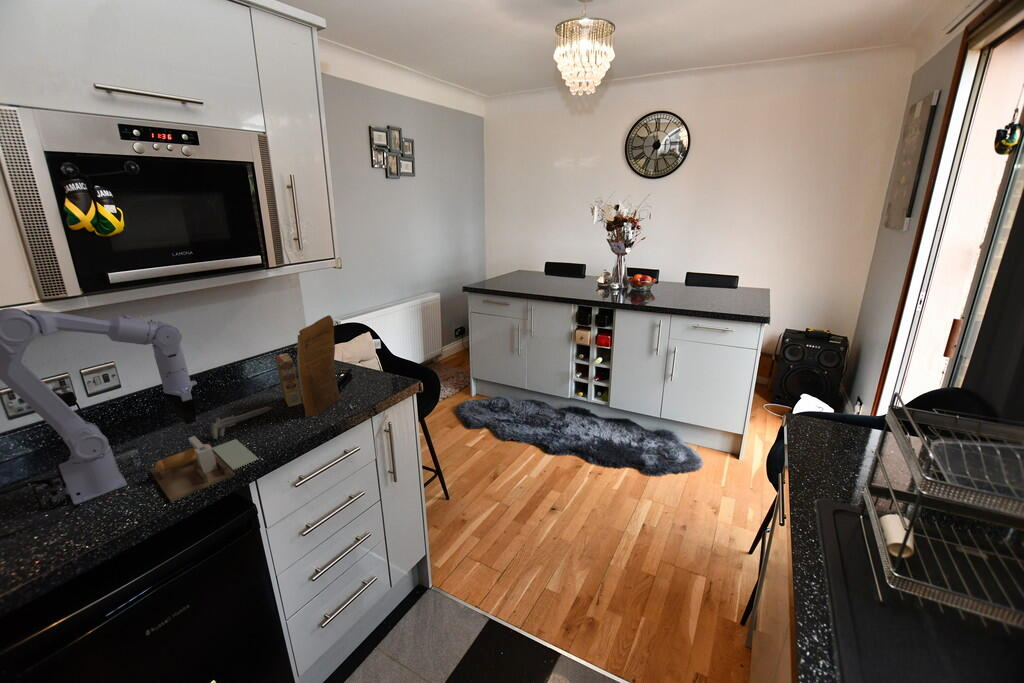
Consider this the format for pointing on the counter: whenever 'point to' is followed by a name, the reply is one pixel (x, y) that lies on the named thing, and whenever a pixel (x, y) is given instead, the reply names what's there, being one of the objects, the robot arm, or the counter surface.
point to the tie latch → (203, 455)
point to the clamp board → (190, 478)
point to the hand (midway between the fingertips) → (186, 418)
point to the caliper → (232, 421)
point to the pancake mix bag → (317, 366)
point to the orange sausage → (176, 460)
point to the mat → (234, 454)
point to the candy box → (288, 379)
